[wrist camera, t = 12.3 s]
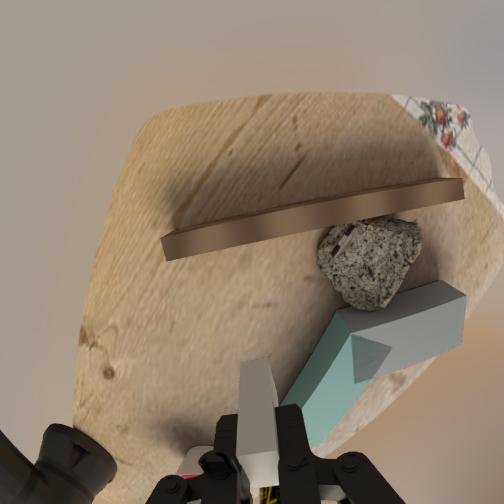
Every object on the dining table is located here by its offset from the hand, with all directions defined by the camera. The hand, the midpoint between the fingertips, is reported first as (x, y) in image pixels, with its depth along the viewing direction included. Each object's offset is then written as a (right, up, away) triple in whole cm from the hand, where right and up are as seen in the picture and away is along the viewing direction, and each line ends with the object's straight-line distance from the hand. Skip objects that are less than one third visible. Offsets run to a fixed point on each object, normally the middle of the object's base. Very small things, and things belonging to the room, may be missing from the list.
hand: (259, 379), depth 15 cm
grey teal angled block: (+12, -5, +15) cm, 20 cm away
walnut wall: (+6, +11, +11) cm, 17 cm away
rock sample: (+10, +6, +13) cm, 17 cm away
